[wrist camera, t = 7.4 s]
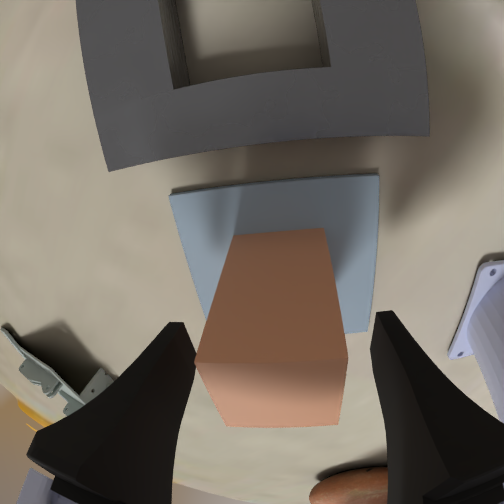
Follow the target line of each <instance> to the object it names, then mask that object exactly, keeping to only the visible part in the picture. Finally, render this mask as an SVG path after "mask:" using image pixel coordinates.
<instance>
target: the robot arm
mask: <svg viewBox="0 0 504 504" xmlns="http://www.w3.org/2000/svg"><path fill="white" fill-rule="evenodd" d="M491 270H492V271H491ZM490 271H491V272H490ZM370 352H371V360H372V368H373V374H374V378H375V383H376V387H377V391H378V395H379V400H380V404H381V409H382V413H383V418H384V423H385V430H386V441H387V458H388V494H387V504H504V260H500V261H492V262H486V263H483V264H482V265H481V266H480V267H479V269H478V272H477V275H476V278H475V282H474V285H473V288H472V291H471V294H470V297H469V300H468V303H467V306H466V309H465V311H464V314H463V317H462V320H461V322H460V325H459V327H458V330H457V332H456V335H455V337H454V340H453V342H452V344H451V347H450V349H449V351H448V354H447V355H448V358H449V359H450V360H453V359H457V358H462V357H466V356H470V355H475V358H476V360H477V362H478V364H479V367H480V369H481V372H482V374H483V376H484V379H485V381H486V384H487V386H488V389H489V392H490V394H491V397H492V400H493V403H494V405H495V408H496V411H497V414H498V417H499V420H500V421H499V420H498V419H496V418H495V417H493V416H492V415H490V414H489V413H487V412H486V411H485V410H483V409H482V408H481V407H480V406H478V405H477V404H476V403H475V402H473V401H472V400H471V399H470V398H468V397H467V396H466V395H465V394H464V393H463V392H462V391H461V390H460V389H458V388H457V387H456V386H455V385H454V384H453V383H452V382H451V381H450V380H449V379H448V378H447V377H446V376H445V375H444V374H443V373H442V371H441V370H440V369H439V368H438V367H437V366H436V365H435V364H434V363H433V361H432V360H431V359H430V358H429V357H428V356H427V354H426V353H425V352H424V351H423V349H422V348H421V347H420V346H419V345H418V343H417V342H416V341H415V340H414V338H413V337H412V336H411V334H410V333H409V332H408V330H407V329H406V328H405V326H404V325H403V324H402V322H401V321H400V320H399V318H398V317H397V316H396V314H395V313H394V312H393V311H392V310H390V311H382V312H376V317H375V323H374V329H373V335H372V341H371V346H370ZM195 357H196V351H195V349H194V347H193V344H192V342H191V340H190V337H189V335H188V333H187V330H186V328H185V325H184V323H183V322H169V323H168V324H167V325H166V326H165V327H164V328H163V330H162V331H161V332H160V333H159V334H158V335H157V336H156V338H155V339H154V340H153V341H152V342H151V343H150V344H149V346H148V347H147V348H146V349H145V350H144V351H143V352H142V353H141V354H140V356H139V357H138V358H137V359H136V360H135V361H134V362H133V363H132V364H131V365H130V366H129V367H128V368H127V369H126V370H125V371H124V372H123V373H122V374H121V375H120V376H119V377H118V378H117V379H116V380H115V381H114V382H113V383H112V384H111V385H110V386H108V387H107V388H106V389H105V390H104V391H103V392H101V393H100V394H99V395H98V396H96V397H95V398H94V399H92V400H91V401H89V402H88V403H87V404H85V405H84V406H83V407H81V408H80V409H78V410H77V411H75V412H73V413H72V414H70V415H68V416H67V417H65V418H63V419H61V420H60V421H58V422H56V423H54V424H52V425H49V426H47V427H45V428H43V429H41V430H39V431H37V432H36V434H35V436H34V438H33V441H32V443H31V445H30V447H29V450H28V452H27V457H28V458H29V459H31V460H32V461H33V462H35V463H36V464H38V465H39V466H41V467H42V468H44V469H45V470H47V471H48V472H50V473H51V474H53V475H55V478H54V480H52V479H50V478H48V477H47V476H44V475H43V474H41V473H39V472H38V471H36V470H34V469H33V468H30V469H29V472H28V474H27V477H26V479H25V482H24V484H23V487H22V490H21V493H20V495H19V498H18V500H17V503H16V504H171V501H172V479H173V468H174V459H175V451H176V445H177V439H178V433H179V429H180V425H181V421H182V418H183V414H184V411H185V408H186V404H187V401H188V398H189V394H190V391H191V387H192V384H193V380H194V376H195V370H196V365H195V363H194V361H195Z"/></svg>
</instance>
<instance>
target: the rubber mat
mask: <svg viewBox="0 0 504 504" xmlns="http://www.w3.org/2000/svg"><path fill="white" fill-rule="evenodd" d="M169 200H170V204H171V207H172V211H173V215H174V218H175V222H176V225H177V229H178V232H179V236H180V239H181V242H182V246H183V249H184V252H185V256H186V259H187V262H188V265H189V269H190V272H191V275H192V278H193V281H194V284H195V288H196V291H197V294H198V297H199V300H200V303H201V306H202V309H203V312H204V315H205V318H206V321H207V317H208V314H209V311H210V308H211V304H212V301H213V298H214V295H215V291H216V288H217V285H218V282H219V279H220V275H221V272H222V269H223V266H224V263H225V260H226V256H227V253H228V250H229V247H230V244H231V241H232V238H233V235H243V234H254V233H266V232H277V231H289V230H301V229H314V228H324V231H325V235H326V240H327V244H328V249H329V253H330V258H331V263H332V268H333V273H334V278H335V283H336V288H337V293H338V299H339V304H340V310H341V316H342V321H343V327H344V334H347V333H358V332H367V331H368V325H369V318H370V310H371V303H372V294H373V285H374V275H375V264H376V252H377V237H378V217H379V175H378V174H377V173H374V174H353V175H336V176H321V177H308V178H296V179H285V180H275V181H265V182H255V183H246V184H238V185H230V186H222V187H214V188H207V189H199V190H192V191H186V192H179V193H172V194H170V195H169Z"/></svg>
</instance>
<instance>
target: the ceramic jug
mask: <svg viewBox="0 0 504 504" xmlns="http://www.w3.org/2000/svg"><path fill="white" fill-rule="evenodd" d="M387 494H388V467H370V468H362V469H356V470H351V471H346V472H342V473H339V474H336V475H333V476H331V477H329V478H326V479H324V480H323V481H321V482H319V483H318V484H317V485H315V486H314V487H313V489H312V490H311V492H310V495H309V500H310V503H311V504H387Z"/></svg>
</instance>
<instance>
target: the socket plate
mask: <svg viewBox="0 0 504 504" xmlns="http://www.w3.org/2000/svg"><path fill="white" fill-rule="evenodd" d="M312 5H313V10H314V15H315V20H316V26H317V32H318V37H319V43H320V50H321V56H322V63H323V67H322V68H305V69H293V70H282V71H273V72H265V73H257V74H250V75H243V76H237V77H231V78H226V79H220V80H215V81H210V82H205V83H200V84H196V85H191V86H190V82H189V76H188V71H187V65H186V60H185V54H184V49H183V43H182V38H181V32H180V26H179V20H178V14H177V8H176V2H175V0H76V9H77V19H78V28H79V36H80V43H81V50H82V56H83V63H84V69H85V74H86V80H87V85H88V90H89V95H90V100H91V104H92V109H93V113H94V118H95V122H96V126H97V130H98V134H99V138H100V142H101V146H102V150H103V153H104V157H105V161H106V164H107V168H108V171H109V172H111V171H115V170H119V169H123V168H127V167H131V166H135V165H140V164H144V163H149V162H153V161H158V160H163V159H168V158H173V157H178V156H183V155H189V154H194V153H200V152H206V151H212V150H218V149H225V148H232V147H239V146H246V145H254V144H262V143H271V142H281V141H291V140H302V139H315V138H331V137H352V136H430V128H429V98H428V83H427V72H426V62H425V54H424V46H423V39H422V33H421V27H420V21H419V16H418V11H417V6H416V1H415V0H312Z"/></svg>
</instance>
